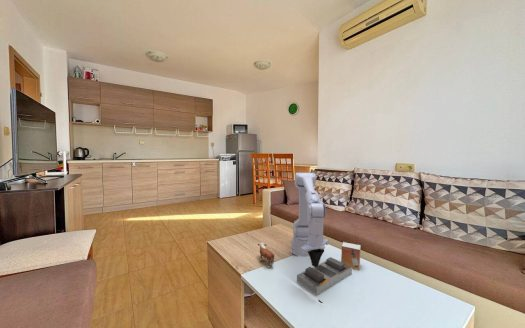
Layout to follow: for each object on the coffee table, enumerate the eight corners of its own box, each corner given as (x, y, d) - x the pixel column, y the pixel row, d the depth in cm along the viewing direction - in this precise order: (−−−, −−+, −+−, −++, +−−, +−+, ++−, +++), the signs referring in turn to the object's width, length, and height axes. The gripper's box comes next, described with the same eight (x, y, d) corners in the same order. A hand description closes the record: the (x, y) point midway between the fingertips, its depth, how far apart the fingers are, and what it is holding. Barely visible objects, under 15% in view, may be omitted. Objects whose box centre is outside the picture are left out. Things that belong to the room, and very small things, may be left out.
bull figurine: (263, 255, 110) (263, 240, 109) (276, 268, 97) (276, 251, 97) (255, 257, 108) (256, 241, 107) (267, 270, 96) (267, 253, 95)
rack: (296, 284, 86) (296, 274, 86) (331, 265, 100) (332, 257, 100) (316, 297, 78) (316, 287, 78) (351, 275, 92) (351, 266, 92)
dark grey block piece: (305, 280, 87) (305, 268, 86) (309, 278, 89) (310, 266, 88) (318, 289, 81) (319, 277, 81) (323, 286, 83) (323, 274, 83)
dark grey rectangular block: (326, 269, 95) (326, 259, 95) (330, 267, 97) (330, 257, 97) (340, 277, 89) (340, 265, 89) (343, 274, 91) (344, 263, 91)
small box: (340, 267, 98) (341, 245, 98) (342, 262, 103) (342, 241, 103) (359, 272, 95) (360, 249, 94) (360, 266, 100) (360, 244, 99)
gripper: (311, 240, 76) (310, 276, 77) (335, 231, 85) (334, 264, 85) (297, 234, 82) (296, 268, 82) (320, 226, 90) (320, 257, 91)
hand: (314, 265), depth 84 cm, fingers closed
